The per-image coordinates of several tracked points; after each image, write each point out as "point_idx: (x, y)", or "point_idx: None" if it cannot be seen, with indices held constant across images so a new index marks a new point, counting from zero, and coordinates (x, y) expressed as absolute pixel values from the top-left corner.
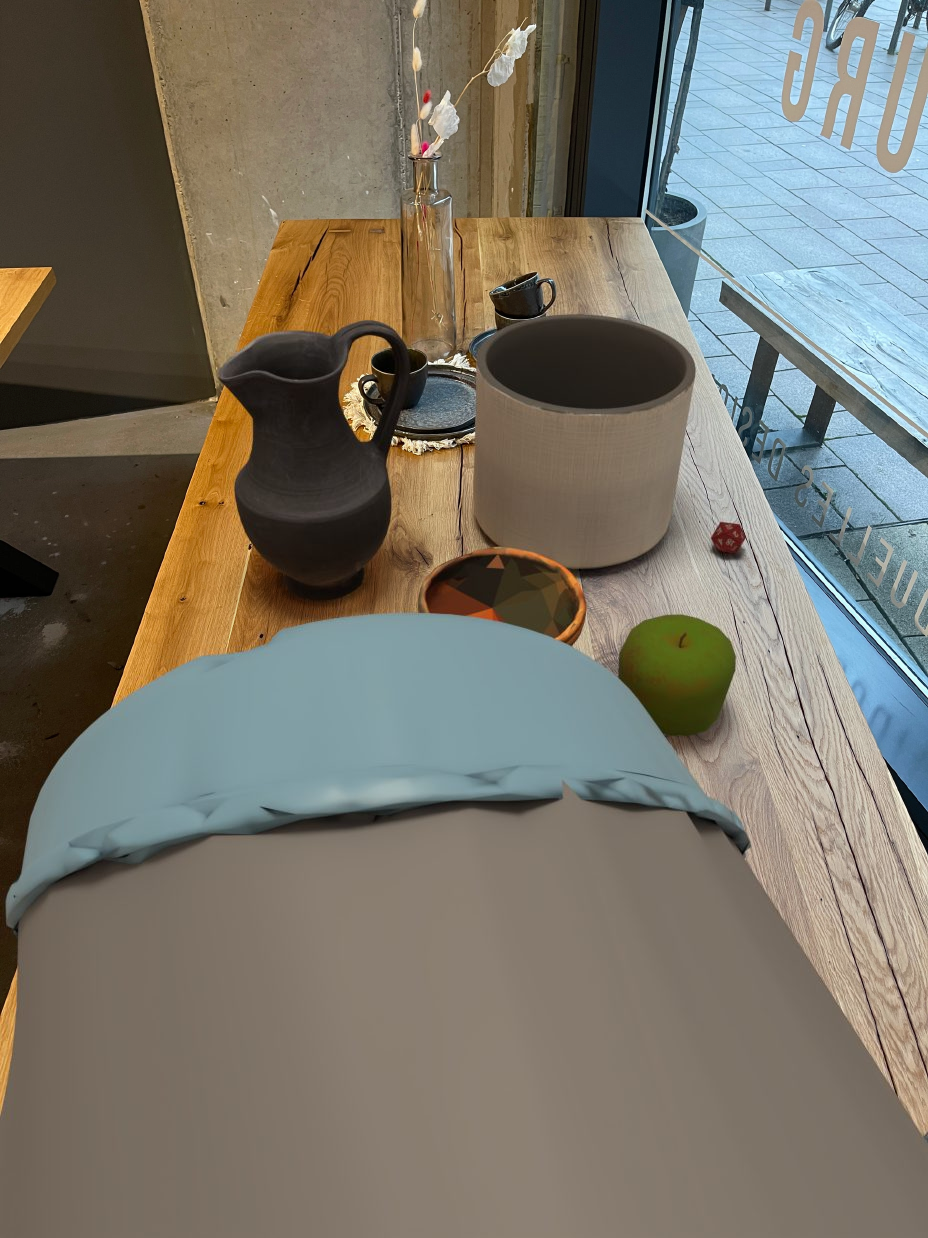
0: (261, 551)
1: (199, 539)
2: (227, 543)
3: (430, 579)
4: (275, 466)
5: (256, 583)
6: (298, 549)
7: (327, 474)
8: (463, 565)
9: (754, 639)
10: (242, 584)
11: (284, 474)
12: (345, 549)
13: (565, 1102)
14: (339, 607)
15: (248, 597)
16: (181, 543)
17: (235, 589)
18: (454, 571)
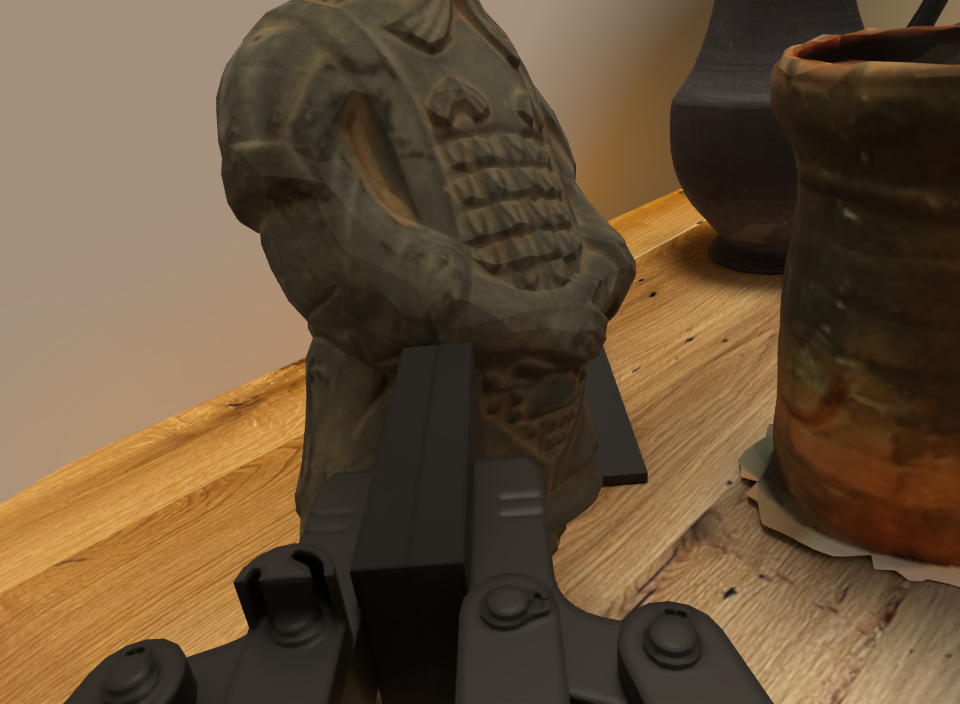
0: (676, 168)
1: (653, 210)
2: (678, 217)
3: (840, 36)
4: (720, 33)
5: (678, 245)
6: (714, 153)
7: (788, 44)
8: (935, 44)
9: None
10: (662, 243)
11: (727, 42)
12: (781, 165)
13: None
14: (760, 280)
15: (658, 252)
16: (633, 210)
17: (651, 245)
18: (908, 52)
